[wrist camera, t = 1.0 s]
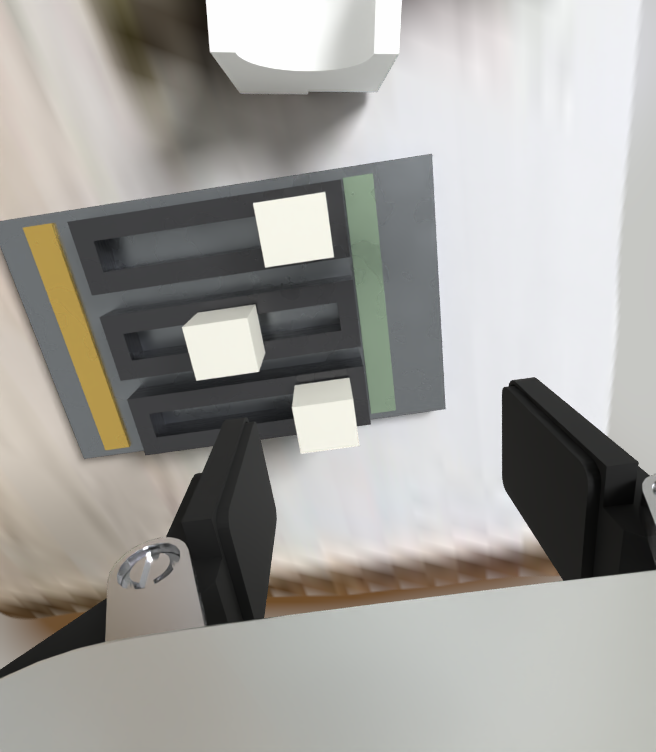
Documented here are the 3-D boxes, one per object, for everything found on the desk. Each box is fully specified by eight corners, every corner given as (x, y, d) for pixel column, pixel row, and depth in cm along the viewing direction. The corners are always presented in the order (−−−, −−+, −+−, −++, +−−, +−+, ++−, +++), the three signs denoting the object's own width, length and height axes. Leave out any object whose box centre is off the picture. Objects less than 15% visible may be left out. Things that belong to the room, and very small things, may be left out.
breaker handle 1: (264, 202, 24) (253, 203, 20) (323, 193, 24) (325, 192, 20) (274, 255, 25) (265, 267, 21) (331, 246, 25) (334, 257, 21)
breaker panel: (5, 221, 26) (-33, 224, 23) (426, 155, 25) (440, 150, 22) (92, 449, 31) (70, 474, 28) (440, 401, 30) (453, 421, 28)
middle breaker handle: (205, 305, 26) (181, 327, 22) (259, 297, 26) (247, 317, 22) (216, 350, 27) (196, 380, 23) (268, 343, 27) (259, 371, 23)
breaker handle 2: (296, 374, 28) (291, 407, 23) (347, 366, 28) (352, 398, 23) (303, 414, 29) (300, 453, 24) (353, 407, 29) (359, 445, 24)
